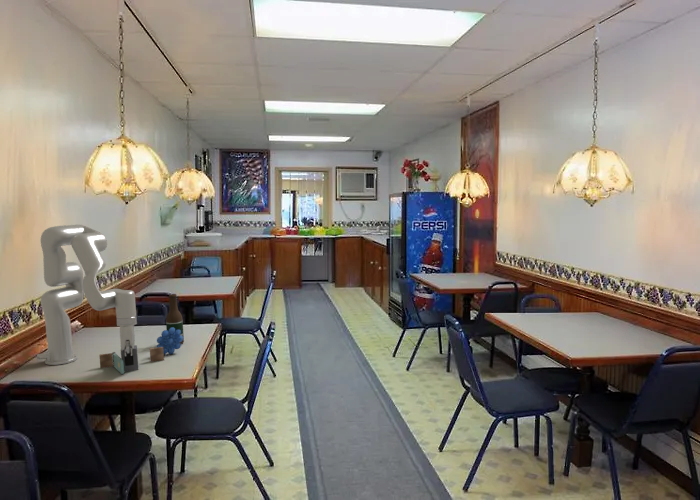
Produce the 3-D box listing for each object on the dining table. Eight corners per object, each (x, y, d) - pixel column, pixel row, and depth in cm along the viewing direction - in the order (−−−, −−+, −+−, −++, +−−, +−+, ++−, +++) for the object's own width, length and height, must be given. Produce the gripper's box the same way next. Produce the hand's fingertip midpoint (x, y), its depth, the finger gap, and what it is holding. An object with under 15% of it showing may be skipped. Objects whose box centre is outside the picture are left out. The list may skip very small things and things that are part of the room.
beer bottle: (179, 346, 254) (175, 295, 252) (164, 345, 256) (160, 295, 253) (187, 341, 262) (184, 292, 259) (172, 341, 263) (169, 292, 261)
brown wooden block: (100, 368, 225) (99, 354, 224) (100, 367, 226) (99, 353, 225) (164, 360, 233) (163, 346, 233) (163, 359, 234) (163, 346, 234)
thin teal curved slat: (113, 366, 226) (112, 353, 226) (116, 365, 227) (115, 353, 226) (121, 374, 216) (120, 361, 215) (124, 373, 216) (123, 360, 216)
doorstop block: (122, 371, 219) (120, 350, 218) (122, 368, 224) (121, 347, 223) (138, 369, 221) (136, 348, 220) (138, 366, 226) (136, 345, 225)
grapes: (182, 349, 248) (181, 324, 247) (185, 353, 242) (183, 327, 241) (155, 353, 243) (154, 327, 242) (157, 357, 237) (155, 330, 236)
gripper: (117, 317, 227) (121, 357, 229) (115, 326, 211) (118, 369, 212) (137, 315, 229) (140, 355, 231) (136, 324, 213) (139, 366, 215)
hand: (129, 361), depth 222 cm, fingers open, 9 cm apart
